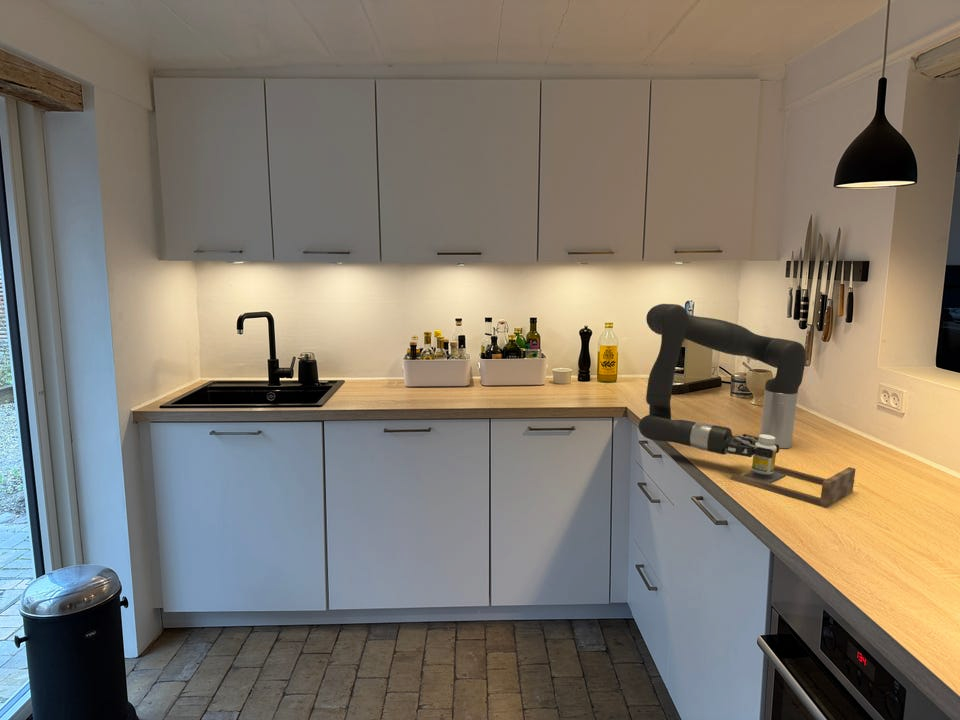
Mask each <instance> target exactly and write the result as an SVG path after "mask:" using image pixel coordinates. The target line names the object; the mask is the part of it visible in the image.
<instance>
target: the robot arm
mask: <svg viewBox="0 0 960 720" xmlns="http://www.w3.org/2000/svg"><path fill="white" fill-rule="evenodd" d="M645 319H646V320H645V321H646V324H647V326H648V328H649V329H650V330H651V331H652V332H654V333H655V334H656V335H660V336H661V339H660V340H661V341H660V348H659V352H658V355H657V356H656V357H657V358H656V359H655V361H654V364H653V366H652V368H651V370H650V372H649V377H648V380H647V387H646V394H645V401H646V404H647V405H648V406H649V408H648V409H649V411H648V413H649V414H647V415H645V416H643V417H642V418H641V419H640V420H639V422H638V431H639V432H640V434H641V436H643V437H644V438H646V439H649V440H651V441H657V442H666V443H676V444H679V445H682V446H687V447H692V448H695V449H698V450H702V451H706V452H711V453H713V454H719V455H723V456H724V455H727V454H729V455H736V456H742V457H747V458H751V457H753V456H756V455H757V456H762V457H766V458H772V457H773V450H772V449H767V448H762V447H758V448H757V446H755V444H756V443H757V442H759V441H758V438H759V436H758V437H757V436H755V435H754V436H753V435H749V434H746V433H742V434H741V435H740V434H738V435H733V433H732V429H731V428H730V427H726V426H722V425H716V424H710V423H707V422H697V421H691V420H686V419H672V410H671V409H672V408H671V400H672V394H673V393H672V391H673V385H674V379H675V377H674V376H675V373H676V368H677V364H678V360H679V356H680V354H681V349H682V347H683V342H684V340H687V341H691V342H693V343H695V344H697V345H700V346H703V347H705V348H708V349H711V350H714V351H716V352H721V353H724V354H727V355H731V356H738V357H747V358H751V359H754V360H756V361H759V362H761V363H762V364H763V363H764V364H765V365H768V366H769V367H773V368H775V369H776V374H775V377H773V378H772V379H767V380H766V381H765V385H764V386H765V387H764V395H763V402H762V403H763V404H762V413H761V424H760V431H759V432H760V434H759V435H761V434H765V435H771V436H774V437H775V443H774V445H775V446H776V447H777V451H776V454H778V453H779V452H780V449H791V448H792V447H793V446H792V445H793V437H794V429H795V420H796V411H797V403H798V400H797V399H798V393H799V388H800V386H801V385H802V381H803V379H804V378H803V377H804V373H805V372H804V371H805V366H806V360H807V359H806V357H807V353H806V352H807V351H806V348H805V346H804V345H803V344H802V343H801V342H799V341H795V340H791V339H784V338H778V337H770V336H764V335H759V334H756V333H754V332H752V331H751V330H749V329H747V328H746V327H745V326H742V325H739V324H736V323H733V322H729V321H727V320H721V319H719V318H718V319H717V318H712V317H704V316H696V315H691V314H689V313H688V311H687V310H686V308H685V307H684V306H682V305H680V304H675V303H674V304H673V303H660V304H657V305H654V306H652V307H651V308H650V309H649V310H648V312H647V314H646V318H645Z"/></svg>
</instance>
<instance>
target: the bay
mask: <svg viewBox="0 0 960 720" xmlns="http://www.w3.org/2000/svg"><path fill="white" fill-rule="evenodd" d="M856 471H857V469H856V468H855V467H847V468H845V469H843V470H841V471H839V472H838V473H835V474H833V475H832V476H830V477H828V478H823V477H819V476H816V475H814V474H813V475H812V474H809V473H806V472H803V471H802V472H801V471H798V470H794V469H790V468H787V467H783V466H778V465H775V466H774V472H777V473H781V474H785V475H786V477H787V476H788V477H792V478H795V479H799V480H802V481H805V482H809V483H814V484H817V485H821V493H820V497H819V496H815V495H812V494H809V493H805V492H803V491H802V492H801V491H797V490H794V489H791V488H787V487H784V486H782V485H778V484H773V483H767V482H764V481H760V480H757V479H753V478H750V477H746V476H743V475H744V474H739V473H736V472H733V473H731V474H730V480H732V481H734V482H735V481H736V482H739V483H742V484H746V485H749V486H751V487H752V486H753V487H755V488H760V489H762V490H766V491H769V492H772V493H775V494H780V495H783V496H786V497H789V498H792V499H797V500H800V501H802V502H807V503H810V504H813V505H816V506H820V507H823V508H828V507H830V506H831V505H833V504H834V503H836V502H838V501H840V500H841V499H843V498H845V497H846V496H847V495H848V496H849V494H851V493H853V491H854V484H855V476H856Z"/></svg>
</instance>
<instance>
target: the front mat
mask: <svg viewBox="0 0 960 720" xmlns="http://www.w3.org/2000/svg"><path fill="white" fill-rule="evenodd" d="M742 475H743V476H746V477H750V478H753V479H757V480H760V481H764V482H767V483H771V484H773V483H775V482H776V481H779V480H781V479H783V478H785V477H787V475H785V474H781V473H777V472H773V473H772V474H760V473H757V472H755V471H753V470H751V471H749V472H747V473H745V474H742Z"/></svg>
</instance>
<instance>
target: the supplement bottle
mask: <svg viewBox="0 0 960 720" xmlns="http://www.w3.org/2000/svg"><path fill="white" fill-rule="evenodd" d="M758 441H759V442H756V443H755V446H757V448H758V447H762V448H767V449H772V450H773V457H772V458H766V457H762V456H757V455H756V456H752V457H753V458H752V464H751V471H755V472H757V473H760V474H772V473H773V472H774V466H776V458H777V453H776V451H777V447H776V446H775V445H774V443H775V437H774V436H771V435H765V434H761V435H760V434H759V435H758Z"/></svg>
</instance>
